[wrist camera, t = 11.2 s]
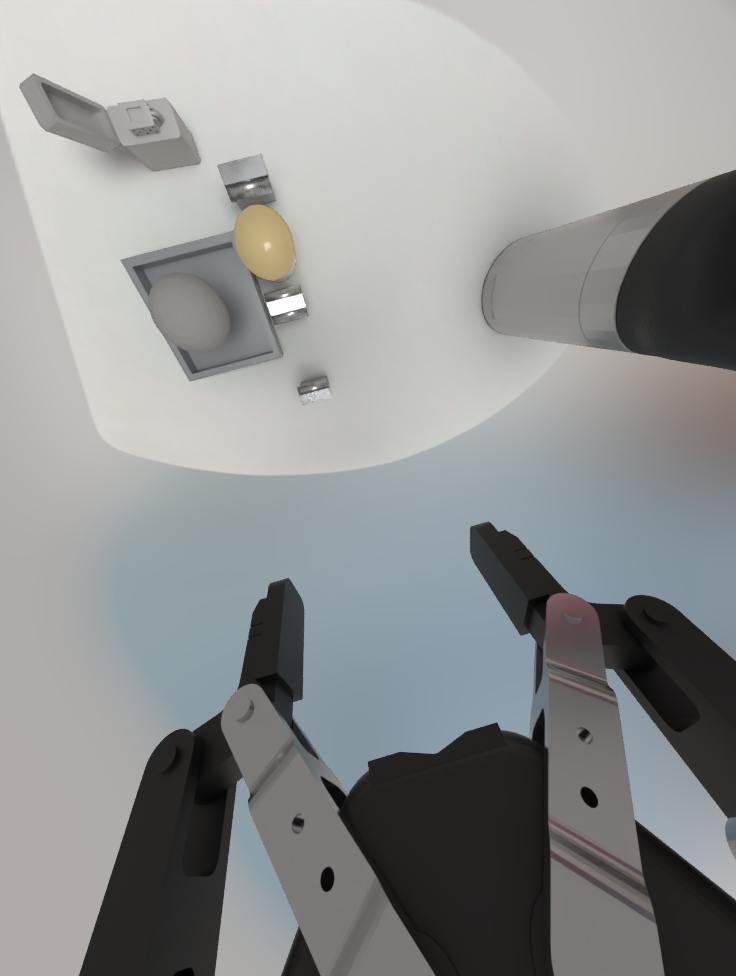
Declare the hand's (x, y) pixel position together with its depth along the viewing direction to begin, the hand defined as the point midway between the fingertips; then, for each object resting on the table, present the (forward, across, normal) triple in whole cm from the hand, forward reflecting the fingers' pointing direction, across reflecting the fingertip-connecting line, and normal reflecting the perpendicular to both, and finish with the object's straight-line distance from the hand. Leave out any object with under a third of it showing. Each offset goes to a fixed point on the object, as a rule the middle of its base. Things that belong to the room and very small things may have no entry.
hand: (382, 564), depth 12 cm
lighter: (+28, +9, -22) cm, 37 cm away
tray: (+28, +10, -11) cm, 32 cm away
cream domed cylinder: (+28, +2, -14) cm, 31 cm away
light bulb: (+28, +9, -11) cm, 31 cm away
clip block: (+28, +2, -10) cm, 30 cm away
